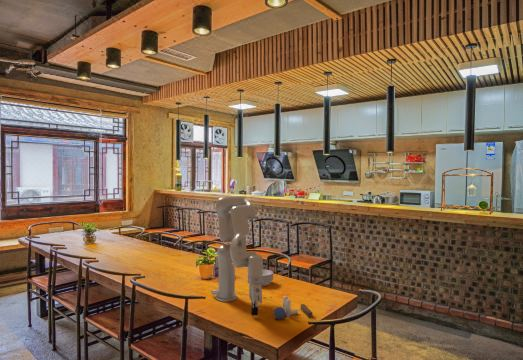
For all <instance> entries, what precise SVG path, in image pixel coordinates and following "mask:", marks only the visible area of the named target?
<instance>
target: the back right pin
mask: <svg viewBox="0 0 523 360" xmlns="http://www.w3.org/2000/svg"><path fill="white" fill-rule="evenodd" d="M291 303H292V301H291V299H287V300H286V315H285V318H287V319H291V316H292V315H291V310H292V309H291V308H292V306H291V305H292V304H291Z"/></svg>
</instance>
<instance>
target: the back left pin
mask: <svg viewBox="0 0 523 360" xmlns="http://www.w3.org/2000/svg"><path fill="white" fill-rule="evenodd" d="M288 298H289V297H288V296H287V295H283V298H282V308H283V309H284V310H286V300H287V299H288Z"/></svg>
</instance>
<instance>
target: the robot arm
mask: <svg viewBox="0 0 523 360" xmlns="http://www.w3.org/2000/svg"><path fill="white" fill-rule="evenodd" d="M215 209H216V210H215V211H216V215H217V218H218V235H219V240H220V241H221V242H222V243H226V244H222V245H220V246H219V247H218V248H217V251H216V252H217V255H218V262H219V276H218V289H212V290H211V291H210V292H211V294H212V295H213V296H214V295H215V299H216V300H217V301H220V302H223V303H225V302H228V303H229V302H234V301H236V300H237V299H238V295H237V294H236V292H235V291H236V289H235V287H236V285H235V284H236V277H235V276H236V269H235V268H245V267H247V284H249V286H248V298H249V299H250V303H251V311H250V313H251V316H252V317H254V316H258V315H259V303H260V304H262V303H263V288H262V287H263V286H261V283H262V278H263V276H262V275H263V270H264V269H263V267H264V266H263V265H264V260H263V256H262V255H261V254H258V253H257V252H256V251H253V250H252V251H247V236H248V235H249V234H250V233H251V229H250V225H249V220H250V221H251V220H254V219H255V218H256V215H257V214H256V213H257V212H256V208H255V207H254V205H253V204H252V203H251V202H250V201H249V200H248V199H247V198H246V197H244V196H222V197H219V198H218V199H217V200H216V202H215ZM227 243H228V244H227Z"/></svg>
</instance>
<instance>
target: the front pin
mask: <svg viewBox="0 0 523 360" xmlns="http://www.w3.org/2000/svg"><path fill="white" fill-rule="evenodd" d="M298 313H299V312H298V309H291V315H290V316H293V315H298ZM285 316H286V310H285Z"/></svg>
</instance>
